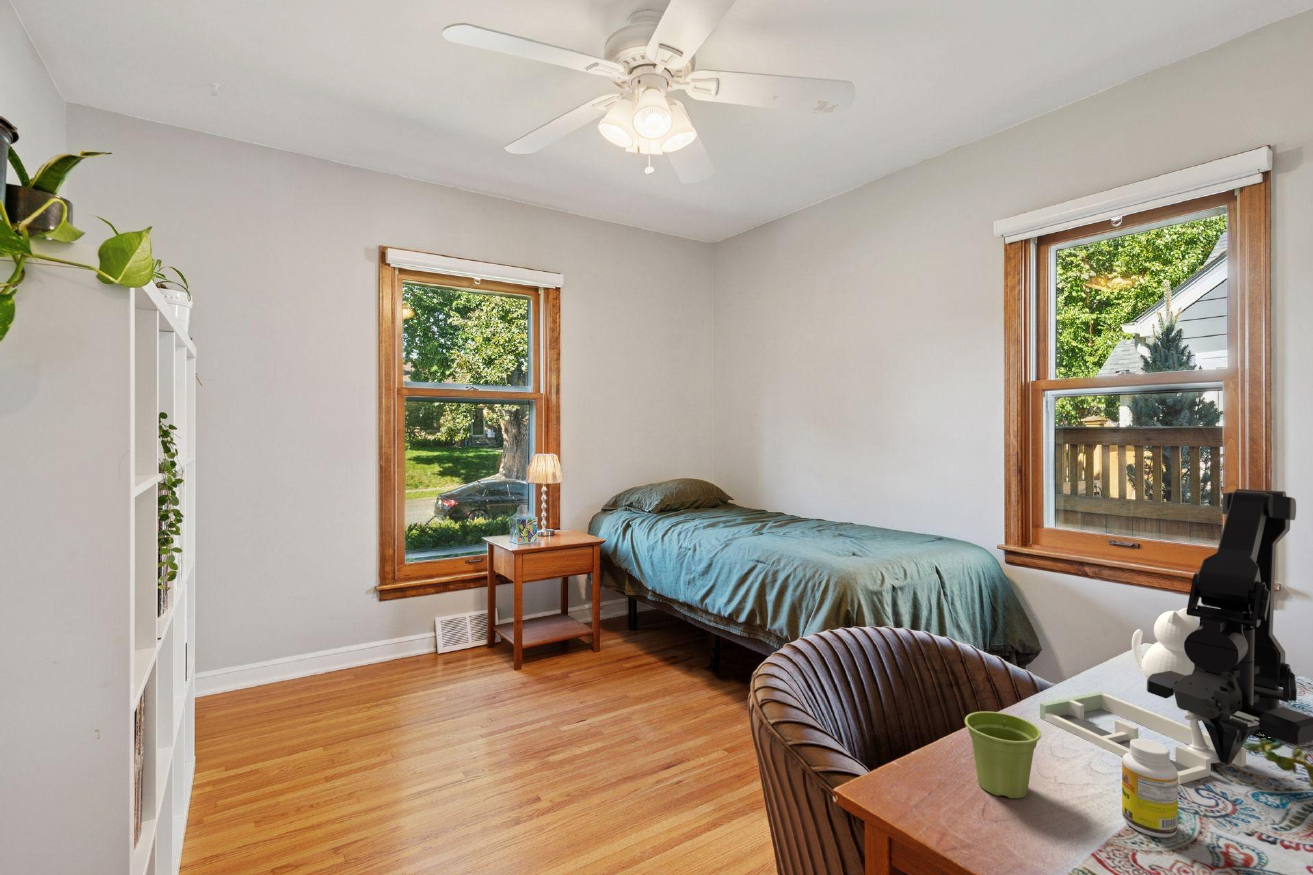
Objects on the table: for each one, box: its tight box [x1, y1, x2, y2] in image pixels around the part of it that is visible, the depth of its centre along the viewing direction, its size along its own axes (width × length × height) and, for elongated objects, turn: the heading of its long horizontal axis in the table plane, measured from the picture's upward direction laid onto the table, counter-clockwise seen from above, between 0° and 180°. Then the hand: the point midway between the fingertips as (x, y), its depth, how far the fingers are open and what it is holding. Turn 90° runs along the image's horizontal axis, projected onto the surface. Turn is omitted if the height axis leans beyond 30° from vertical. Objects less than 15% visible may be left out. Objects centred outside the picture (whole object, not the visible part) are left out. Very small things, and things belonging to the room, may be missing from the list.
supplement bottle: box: [1121, 738, 1179, 838], centre depth 81 cm, size 6×6×10 cm
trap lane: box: [1039, 691, 1247, 785], centre depth 103 cm, size 14×22×2 cm, turn 19°
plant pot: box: [964, 711, 1042, 799], centre depth 90 cm, size 9×9×9 cm
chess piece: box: [1184, 710, 1221, 764], centre depth 98 cm, size 5×5×10 cm
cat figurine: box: [1131, 607, 1200, 679], centre depth 126 cm, size 9×12×15 cm
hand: (1225, 762), depth 94 cm, fingers closed, pressing on chess piece
